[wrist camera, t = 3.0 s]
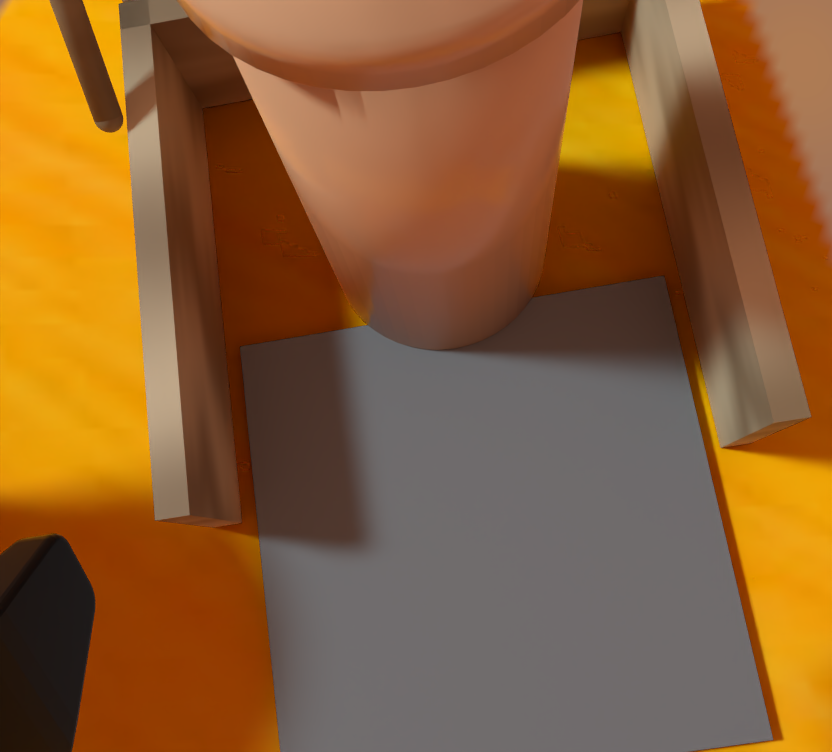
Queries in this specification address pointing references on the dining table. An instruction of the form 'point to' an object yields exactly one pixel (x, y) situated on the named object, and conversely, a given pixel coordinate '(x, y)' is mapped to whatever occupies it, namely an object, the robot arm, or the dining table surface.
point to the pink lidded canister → (415, 145)
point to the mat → (497, 539)
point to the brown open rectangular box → (196, 249)
